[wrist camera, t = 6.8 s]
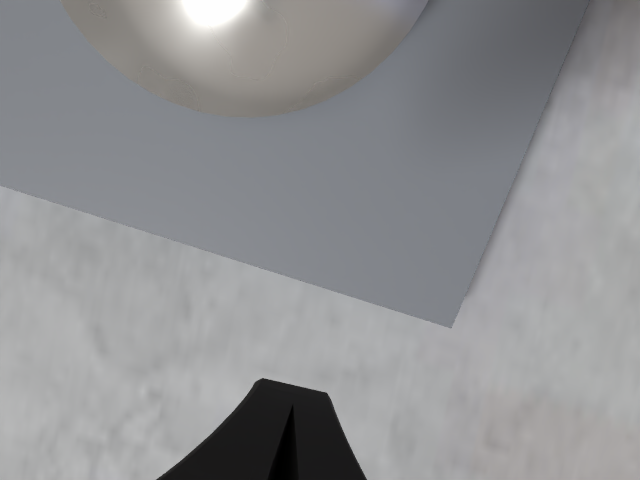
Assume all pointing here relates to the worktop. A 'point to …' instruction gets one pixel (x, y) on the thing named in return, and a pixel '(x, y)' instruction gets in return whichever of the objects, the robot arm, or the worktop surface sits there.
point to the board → (299, 150)
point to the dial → (245, 48)
